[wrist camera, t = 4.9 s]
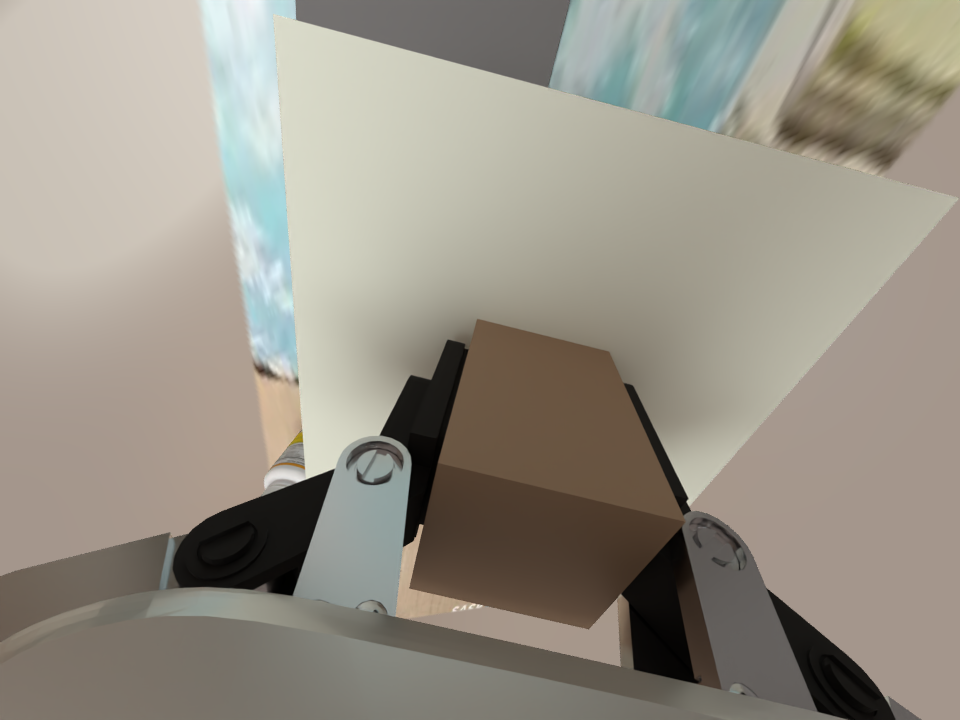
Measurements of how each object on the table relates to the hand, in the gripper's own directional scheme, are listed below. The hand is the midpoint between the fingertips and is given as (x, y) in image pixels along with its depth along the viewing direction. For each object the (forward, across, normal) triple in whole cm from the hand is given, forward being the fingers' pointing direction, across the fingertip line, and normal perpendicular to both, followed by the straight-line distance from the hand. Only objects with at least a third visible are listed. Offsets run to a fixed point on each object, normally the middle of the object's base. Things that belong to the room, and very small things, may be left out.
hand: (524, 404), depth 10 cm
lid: (+2, 0, 0) cm, 2 cm away
